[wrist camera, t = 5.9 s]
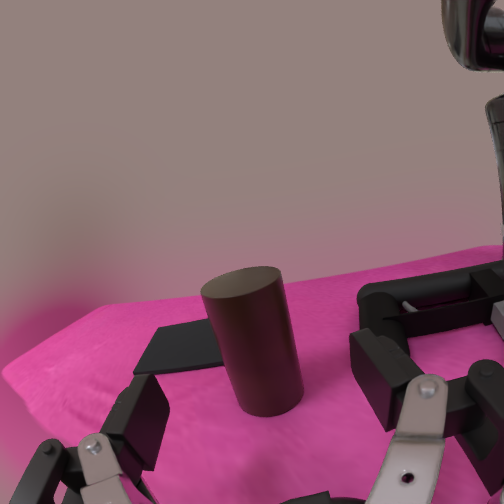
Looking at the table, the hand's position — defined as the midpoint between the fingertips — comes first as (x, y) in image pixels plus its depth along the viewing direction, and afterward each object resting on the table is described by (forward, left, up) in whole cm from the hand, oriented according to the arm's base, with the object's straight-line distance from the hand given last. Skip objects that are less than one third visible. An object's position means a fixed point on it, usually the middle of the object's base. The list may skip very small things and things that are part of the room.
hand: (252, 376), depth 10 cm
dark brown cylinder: (0, -7, -7) cm, 10 cm away
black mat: (+8, -17, -7) cm, 20 cm away
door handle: (-17, -6, -7) cm, 19 cm away
